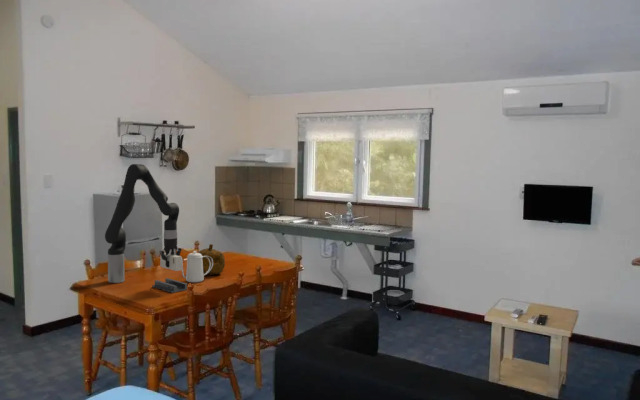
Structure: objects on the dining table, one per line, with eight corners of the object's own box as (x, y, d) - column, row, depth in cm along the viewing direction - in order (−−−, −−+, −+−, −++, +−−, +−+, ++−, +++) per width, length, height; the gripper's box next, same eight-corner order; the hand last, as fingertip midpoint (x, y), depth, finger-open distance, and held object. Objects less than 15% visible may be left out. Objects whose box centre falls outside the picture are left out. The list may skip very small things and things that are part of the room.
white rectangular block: (160, 266, 309) (160, 253, 308) (165, 265, 311) (165, 252, 311) (176, 271, 298) (176, 257, 298) (181, 270, 301) (181, 256, 300)
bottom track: (152, 286, 308) (152, 281, 307) (170, 283, 317) (170, 277, 316) (171, 293, 295) (171, 287, 294) (189, 289, 304) (189, 283, 303)
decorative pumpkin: (186, 273, 339) (188, 243, 339) (207, 270, 358) (209, 241, 357) (210, 278, 330) (213, 247, 329) (230, 275, 348) (233, 245, 348)
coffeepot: (171, 281, 321) (171, 251, 319) (209, 276, 336) (209, 247, 334) (177, 285, 312) (177, 254, 311) (216, 280, 327) (216, 250, 325)
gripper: (177, 235, 311) (177, 263, 312) (156, 237, 300) (156, 267, 302) (184, 236, 306) (184, 265, 308) (163, 239, 295) (163, 269, 297)
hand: (170, 266), depth 305 cm, fingers closed on white rectangular block, 3 cm apart
